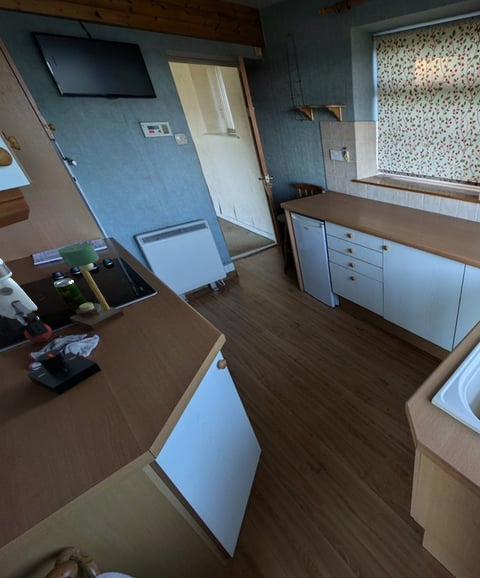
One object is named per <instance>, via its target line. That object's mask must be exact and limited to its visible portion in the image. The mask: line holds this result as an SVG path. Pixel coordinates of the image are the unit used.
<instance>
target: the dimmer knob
mask: <svg viewBox="0 0 480 578" xmlns="http://www.w3.org/2000/svg"><path fill="white" fill-rule="evenodd" d="M63 355H64V354H63V353H62V352H61V350H59V349H51V350H49V351H46V352H44V353H42V354H40V355H39V356H38V357H37V361H38V362H39V363H40V364H41V365H42V366H44V368H45V369H46V370H47V371H48V372H55V371H58V370H61V369H62V368H64V367H66V366H67V365H68V361H67V360H66V359H65V357H64V356H63Z"/></svg>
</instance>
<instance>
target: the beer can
mask: <svg viewBox="0 0 480 578" xmlns="http://www.w3.org/2000/svg"><path fill="white" fill-rule="evenodd" d="M53 285H54V286H53V287H54V288H55V289H56V291H57V293H58V294H59V296H60V297H61V298H62V300H63V302H64V303H65V305H66V306H67V307H68V309H69V310H70V311H73V312H76V310H77V309H79V308H80V306H81V305H82V304H85V303H88V301H87V299H86V298H85V297H84V295H83V293H82V292H81V290H80V289H79V287H78V286H77V284H76V282H75V281H74V280H73V278H70V277H67V278H61V279H58V280H56V281H54V282H53Z"/></svg>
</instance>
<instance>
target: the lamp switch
mask: <svg viewBox="0 0 480 578" xmlns="http://www.w3.org/2000/svg"><path fill="white" fill-rule="evenodd" d="M93 308H94V305H93V302H90V301H89V302H87V303H85V304H82V305H81V306H80V309H81V310H82V311H88V310H91V309H93Z"/></svg>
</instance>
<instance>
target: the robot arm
mask: <svg viewBox="0 0 480 578" xmlns="http://www.w3.org/2000/svg"><path fill="white" fill-rule="evenodd" d="M12 275H13V272H12V271H11V270H10V268H9V267H8V265H6V263H5V262H4V261H3V259H2V258H1V257H0V317H1V318H2V320H3V321H4V322H5V323H6V325H7V326H8V327H9V328H10V329H11V330H12V331H16V330H19V329H21V328H23V329H24V331H25V330H26V331H27V333H28V334H29V335H30V336H31V337H32V338H36V337H39V336H41V335H43V334H45V333H47V332H48V331H49V330H48V329H47V328H46V326H45V325H44V324H45V323H44V322H43V321H42V319H41V318H40V317H39V316H37V314H35V313H34V311H35V312H36V311H37V310H38V307H37V305H36V304H35V303H34V302H33V301H32V300H31V298H30V297H29V295H28V294H27V293H26V292H25V291H24V290H23V288H21V286H20V285H19V284H18V283H17V282H16V281H15V280H14V279H13V278H11V276H12Z"/></svg>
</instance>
